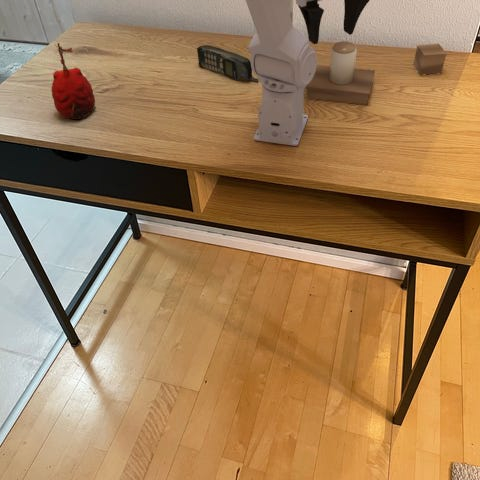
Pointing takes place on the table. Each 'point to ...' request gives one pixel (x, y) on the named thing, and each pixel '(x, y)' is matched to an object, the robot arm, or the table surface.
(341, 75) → the stoneware jar
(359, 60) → the table surface
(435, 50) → the walnut block
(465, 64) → the table surface
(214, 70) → the mobile phone
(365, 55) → the table surface
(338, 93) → the wooden brick
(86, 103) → the red bumpy rounded piece
